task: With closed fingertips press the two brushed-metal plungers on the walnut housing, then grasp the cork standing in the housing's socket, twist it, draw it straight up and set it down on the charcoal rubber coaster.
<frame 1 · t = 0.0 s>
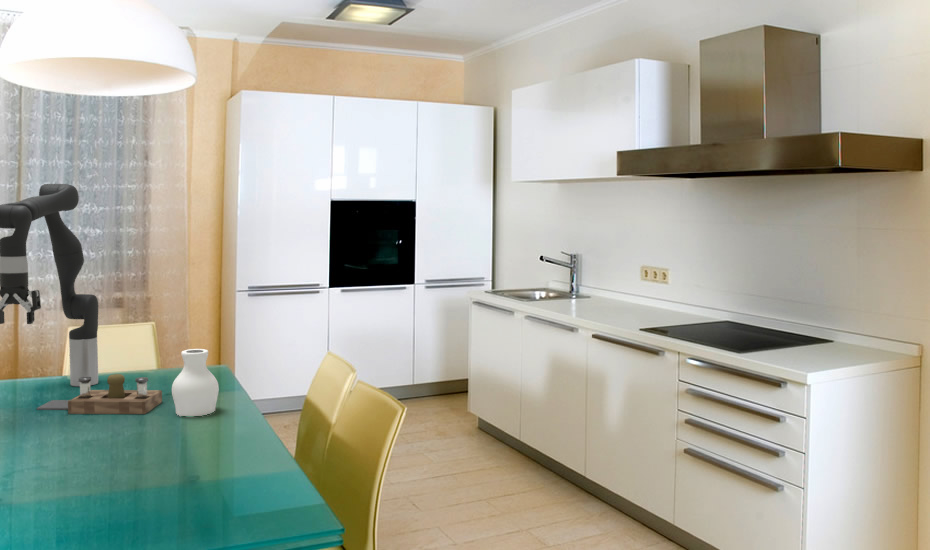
hand: (15, 323, 233), 29 cm above the table, fingers open, 8 cm apart
plunger 1: (85, 390, 245), point 6 cm above the table, slide at 0.0 cm
housing: (116, 407, 248), on the table
vase: (195, 412, 244), on the table
pad: (60, 405, 249), on the table
cork: (116, 408, 248), resting in housing
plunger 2: (141, 390, 246), point 6 cm above the table, slide at 0.0 cm
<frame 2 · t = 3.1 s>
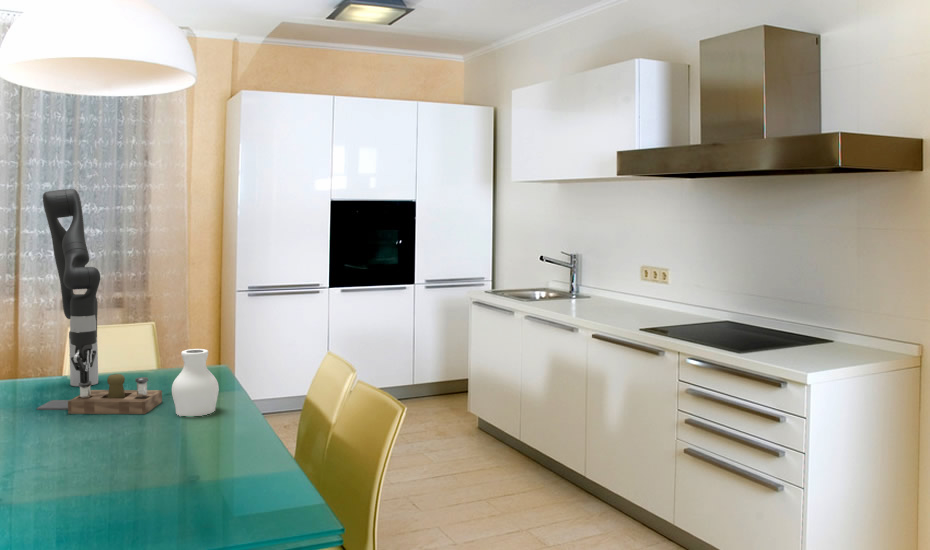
hand: (84, 382, 245), 9 cm above the table, fingers closed
plunger 1: (85, 394, 245), point 5 cm above the table, slide at 1.4 cm, touching gripper
everything else where it was.
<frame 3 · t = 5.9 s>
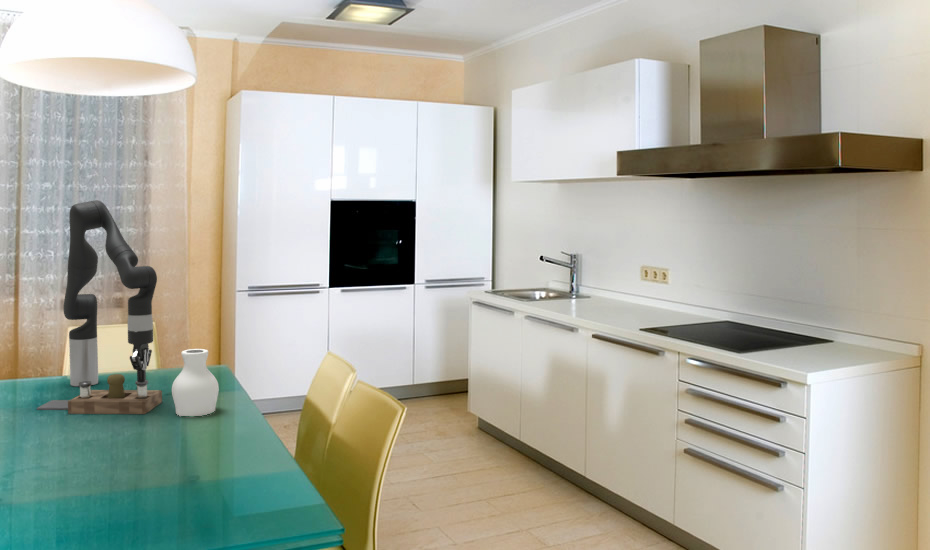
hand: (141, 381, 246), 9 cm above the table, fingers closed
plunger 1: (85, 394, 245), point 5 cm above the table, slide at 1.4 cm
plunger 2: (142, 393, 246), point 5 cm above the table, slide at 0.9 cm, touching gripper
everything else where it was.
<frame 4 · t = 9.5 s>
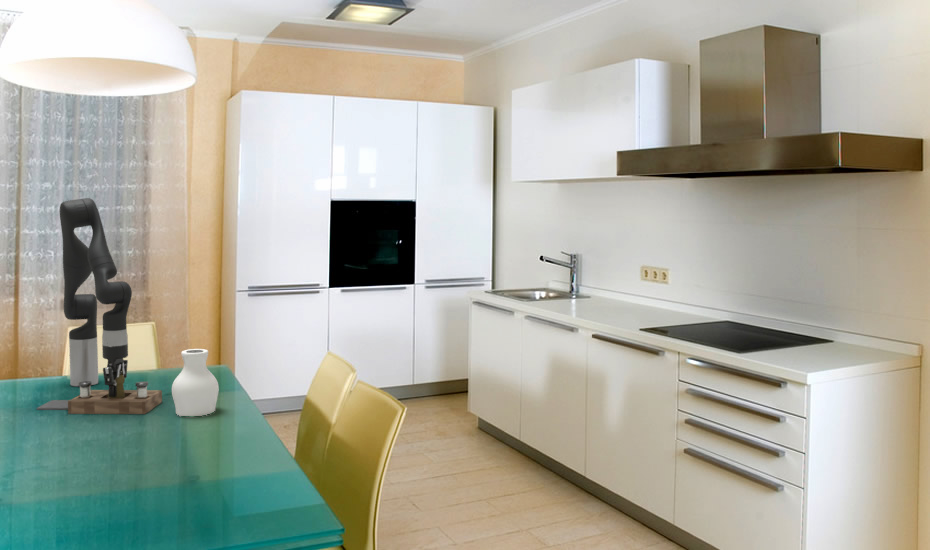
hand: (116, 394, 248), 4 cm above the table, fingers closed on cork, 5 cm apart
cork: (116, 408, 248), resting in housing, touching gripper
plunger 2: (142, 395, 246), point 5 cm above the table, slide at 1.5 cm
everything else where it was.
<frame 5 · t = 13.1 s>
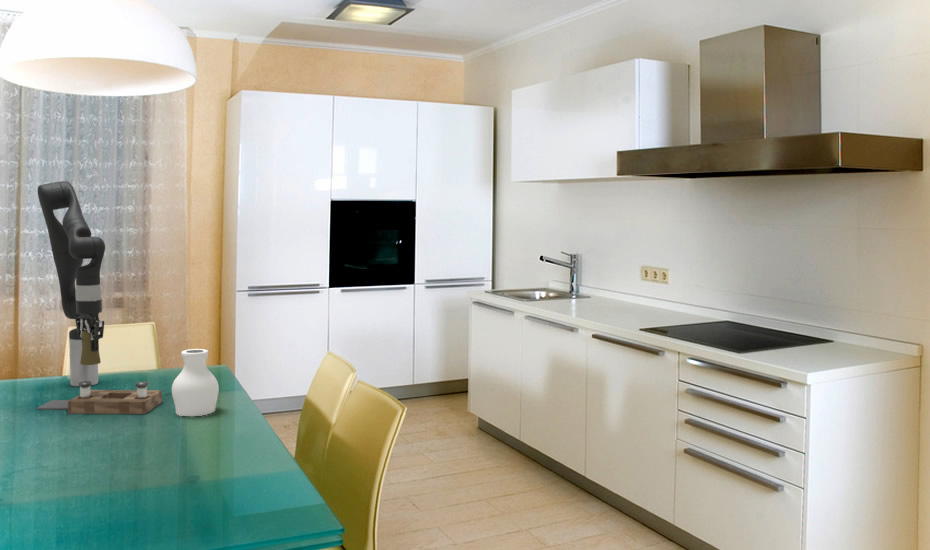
hand: (90, 349, 248), 19 cm above the table, fingers closed on cork, 5 cm apart
cork: (90, 363, 248), point 14 cm above the table, touching gripper
everything else where it was.
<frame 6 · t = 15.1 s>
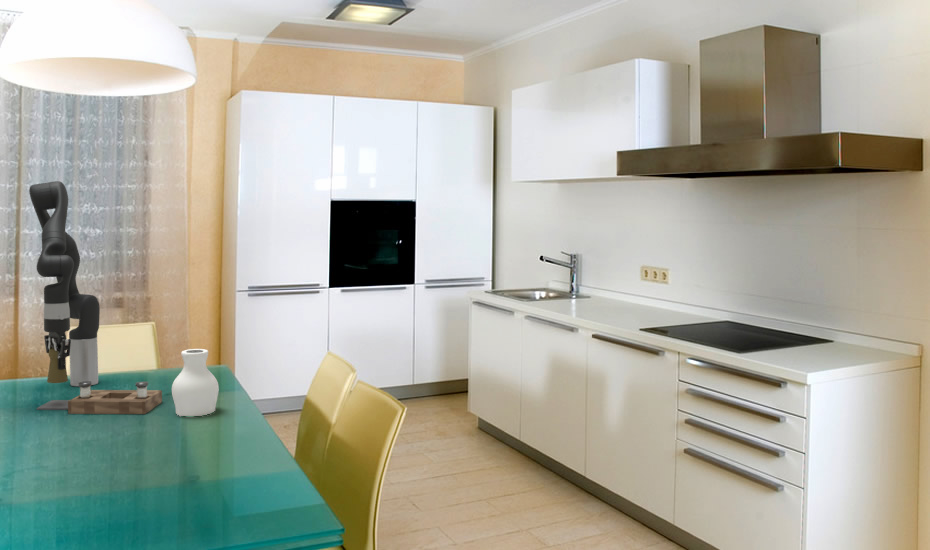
hand: (58, 367, 248), 13 cm above the table, fingers closed on cork, 5 cm apart
cork: (57, 381, 248), point 8 cm above the table, touching gripper
everything else where it was.
when the fingers open (6 cm above the table, at t = 16.8 s): cork stays where it is, resting on pad.
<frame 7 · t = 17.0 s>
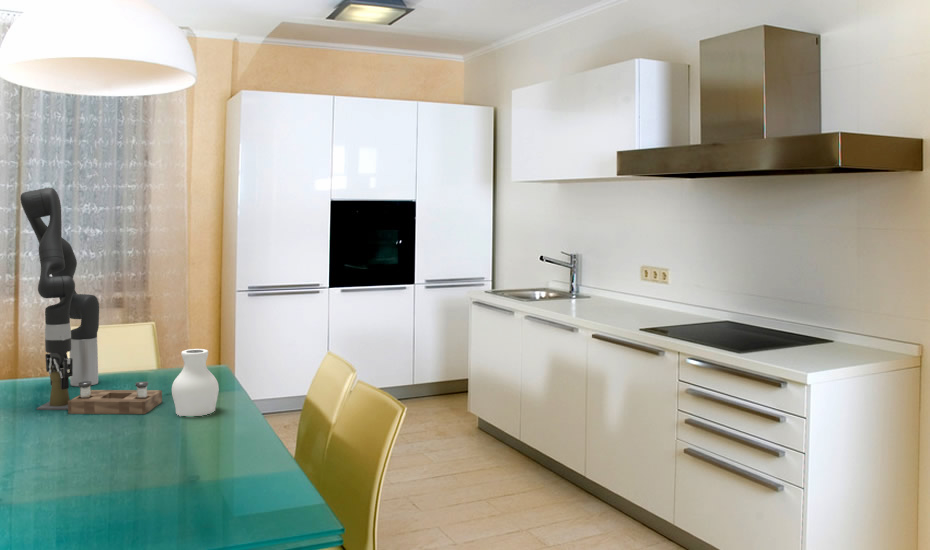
hand: (59, 387, 249), 6 cm above the table, fingers open, 6 cm apart
cork: (59, 404, 249), resting on pad
everything else where it was.
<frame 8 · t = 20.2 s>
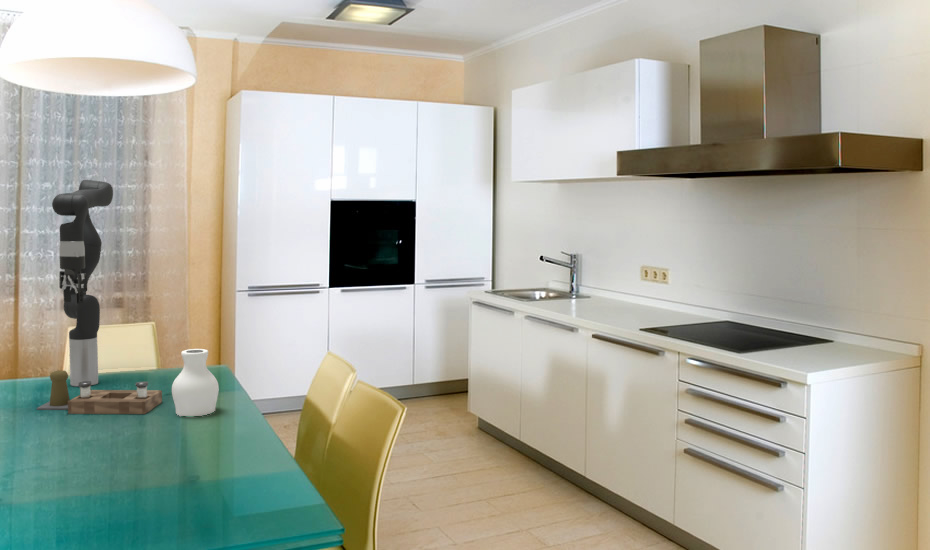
hand: (73, 303, 253), 33 cm above the table, fingers open, 8 cm apart
nothing on the table moved.
at the end: cork inside the target area on the pad (0.1 cm from its centre), point 0.4 cm above the pad's base; cork tilted 0°; the gripper is holding nothing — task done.
